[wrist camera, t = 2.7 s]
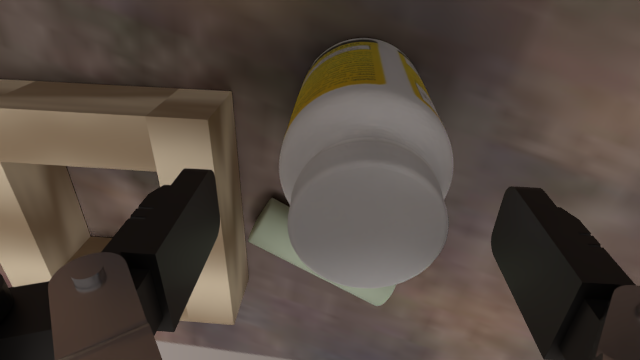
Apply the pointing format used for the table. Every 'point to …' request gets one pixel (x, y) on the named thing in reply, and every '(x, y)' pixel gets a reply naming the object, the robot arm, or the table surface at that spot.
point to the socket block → (114, 153)
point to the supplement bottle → (366, 168)
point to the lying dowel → (275, 239)
